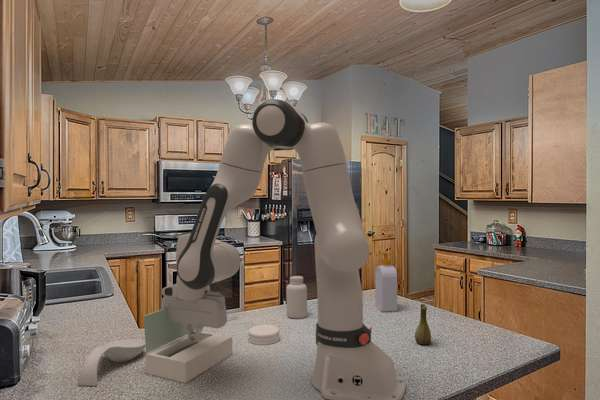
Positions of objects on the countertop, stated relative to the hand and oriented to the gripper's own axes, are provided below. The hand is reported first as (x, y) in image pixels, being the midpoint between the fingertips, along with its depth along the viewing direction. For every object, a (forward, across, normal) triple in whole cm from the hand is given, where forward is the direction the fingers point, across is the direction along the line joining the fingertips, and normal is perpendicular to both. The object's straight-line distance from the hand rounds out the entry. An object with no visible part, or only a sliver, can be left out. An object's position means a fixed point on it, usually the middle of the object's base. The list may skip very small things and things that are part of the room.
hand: (194, 339), depth 108 cm
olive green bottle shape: (+7, -55, -41) cm, 69 cm away
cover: (-4, +7, 0) cm, 8 cm away
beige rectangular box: (+6, +2, 0) cm, 7 cm away
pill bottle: (+7, -7, -51) cm, 52 cm away
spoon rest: (+7, +19, +10) cm, 23 cm away
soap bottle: (+7, -36, -74) cm, 83 cm away
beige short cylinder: (+7, -8, -24) cm, 26 cm away
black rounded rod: (+5, +4, 0) cm, 6 cm away
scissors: (+7, +15, -31) cm, 35 cm away
